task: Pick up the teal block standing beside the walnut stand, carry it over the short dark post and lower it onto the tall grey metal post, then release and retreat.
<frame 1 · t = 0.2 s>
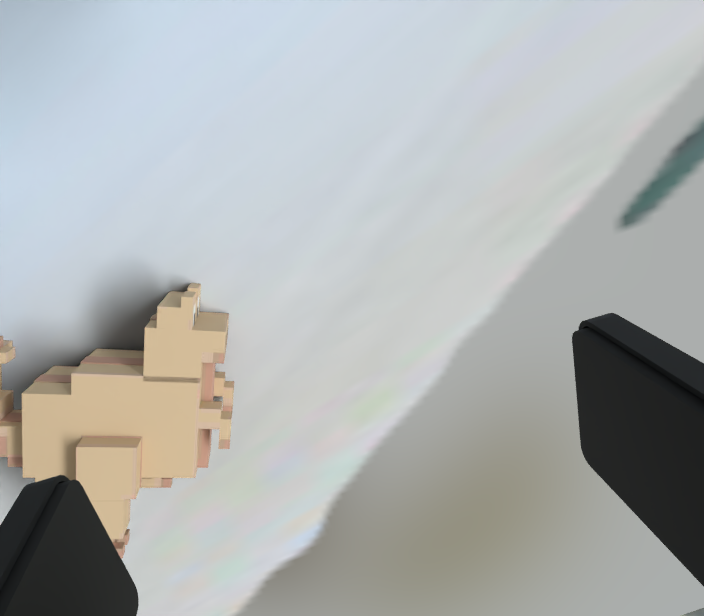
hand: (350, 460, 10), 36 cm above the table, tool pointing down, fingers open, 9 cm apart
toy: (120, 374, 47), on the table
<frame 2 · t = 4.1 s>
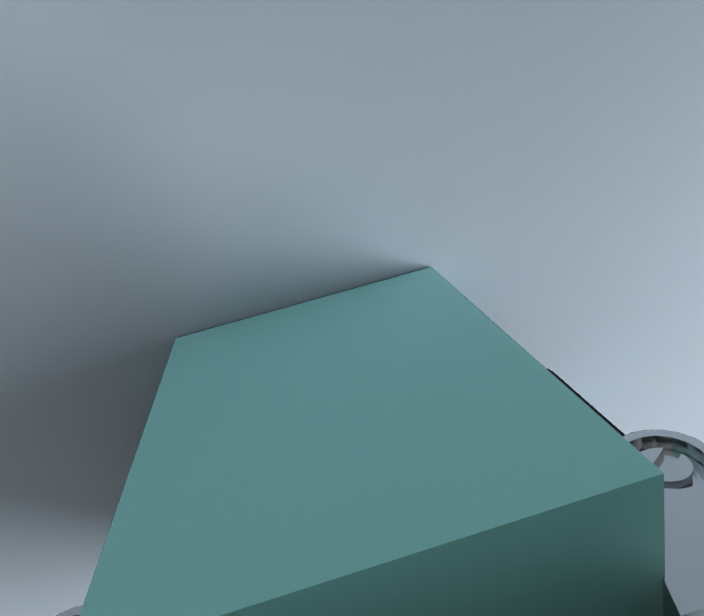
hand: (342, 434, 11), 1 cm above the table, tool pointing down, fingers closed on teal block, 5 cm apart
teal block: (337, 411, 12), on the table, touching gripper
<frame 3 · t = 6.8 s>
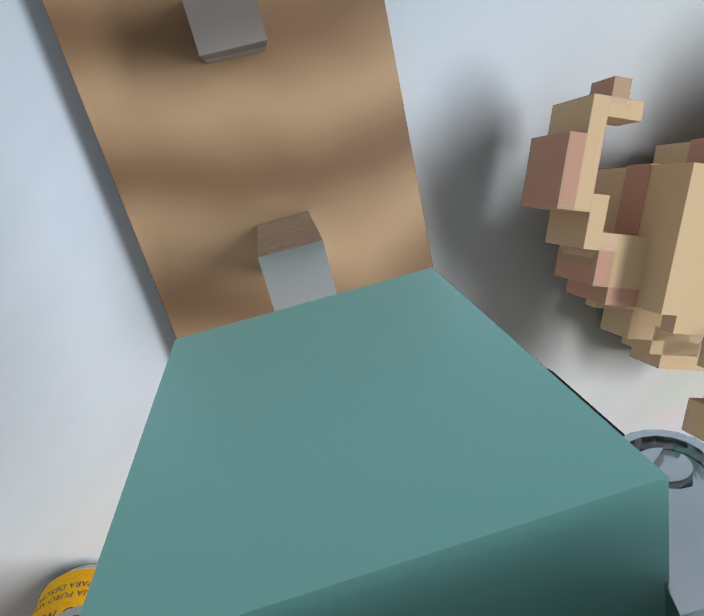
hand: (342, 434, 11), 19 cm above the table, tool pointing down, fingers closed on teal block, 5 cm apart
toy: (651, 199, 31), on the table
stand: (266, 160, 27), on the table
teal block: (337, 412, 11), point 18 cm above the table, touching gripper
beer can: (96, 592, 34), on the table
tall post: (288, 237, 28), resting on stand
when the fingers open (4 cm above the table, at t = 9.9 s): teal block drops 2 cm, resting on tall post.
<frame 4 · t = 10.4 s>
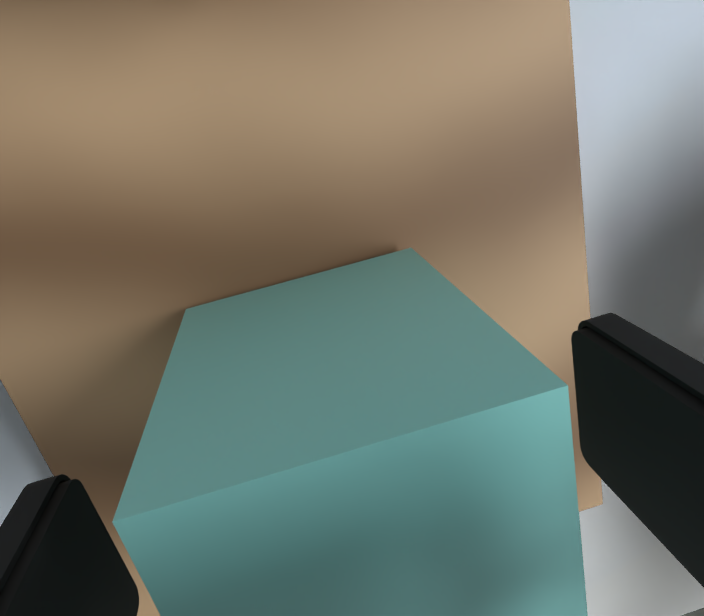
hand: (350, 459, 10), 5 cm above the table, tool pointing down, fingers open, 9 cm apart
stand: (279, 206, 13), on the table
teal block: (328, 376, 13), point 1 cm above the table, touching tall post
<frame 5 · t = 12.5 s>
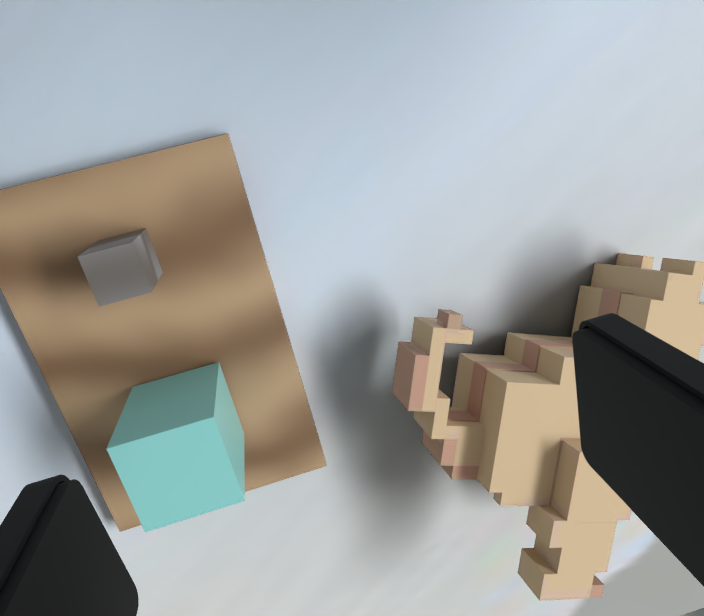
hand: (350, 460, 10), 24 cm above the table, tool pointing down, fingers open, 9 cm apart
toy: (511, 366, 39), on the table
stand: (171, 344, 33), on the table
teal block: (190, 411, 33), point 1 cm above the table, touching tall post
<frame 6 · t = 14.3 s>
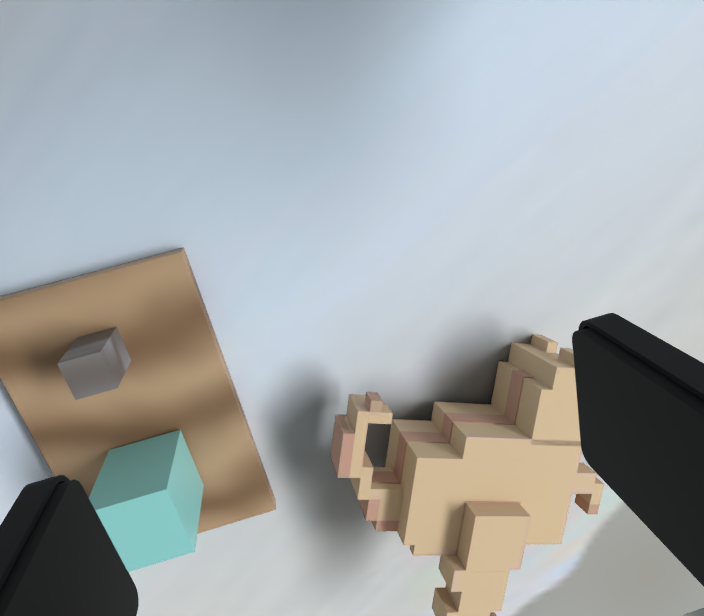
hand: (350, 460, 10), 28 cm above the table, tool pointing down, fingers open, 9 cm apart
toy: (441, 426, 45), on the table
stand: (141, 413, 40), on the table
teal block: (157, 468, 40), point 1 cm above the table, touching tall post
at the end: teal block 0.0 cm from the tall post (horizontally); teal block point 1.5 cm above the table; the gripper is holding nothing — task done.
